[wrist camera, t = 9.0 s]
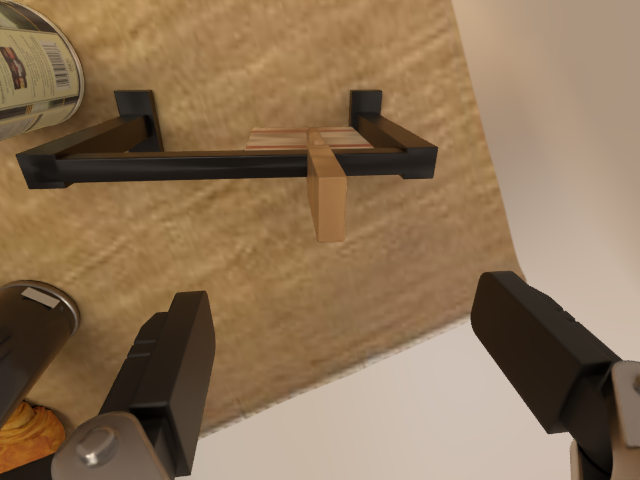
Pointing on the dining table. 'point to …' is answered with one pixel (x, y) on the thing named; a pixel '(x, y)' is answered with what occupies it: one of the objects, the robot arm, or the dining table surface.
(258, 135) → the brown flat handled piece
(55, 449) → the croissant
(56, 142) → the rail
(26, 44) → the coffee can
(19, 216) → the dining table surface
